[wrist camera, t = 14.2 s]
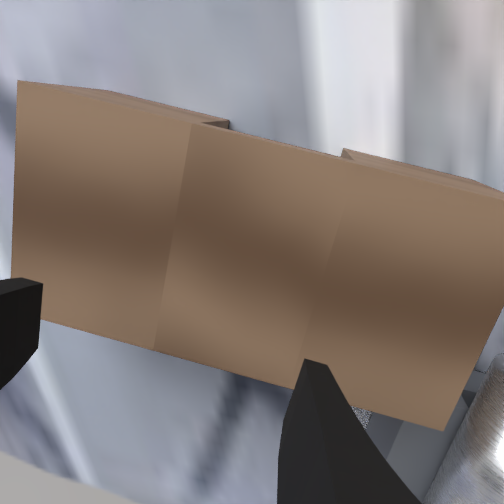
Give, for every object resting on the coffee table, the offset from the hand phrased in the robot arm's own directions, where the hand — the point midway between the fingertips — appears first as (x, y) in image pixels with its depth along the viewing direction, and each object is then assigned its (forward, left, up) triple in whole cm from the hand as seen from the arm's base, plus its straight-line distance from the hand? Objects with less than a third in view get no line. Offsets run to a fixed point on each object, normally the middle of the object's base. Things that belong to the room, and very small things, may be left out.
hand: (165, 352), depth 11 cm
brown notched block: (+2, -1, -9) cm, 10 cm away
